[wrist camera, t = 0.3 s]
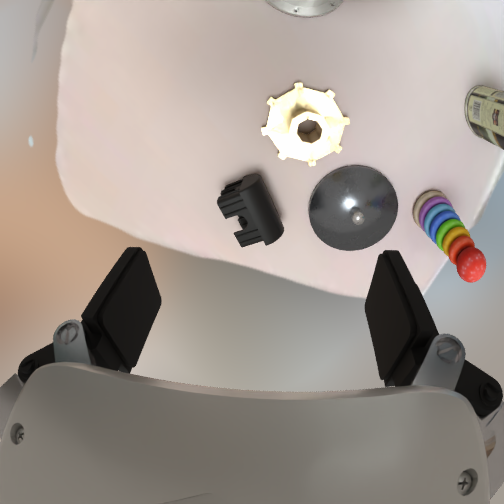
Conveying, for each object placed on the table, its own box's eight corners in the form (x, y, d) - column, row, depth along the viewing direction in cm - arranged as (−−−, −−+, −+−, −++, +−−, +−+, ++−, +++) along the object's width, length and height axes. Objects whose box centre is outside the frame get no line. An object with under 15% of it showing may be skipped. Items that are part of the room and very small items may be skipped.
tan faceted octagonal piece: (272, 76, 33) (271, 75, 28) (354, 97, 34) (366, 101, 29) (256, 151, 41) (253, 164, 36) (333, 169, 41) (340, 185, 36)
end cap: (284, 219, 48) (284, 240, 42) (247, 231, 50) (243, 253, 44) (261, 168, 43) (258, 184, 37) (222, 183, 45) (213, 201, 39)
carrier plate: (323, 153, 40) (327, 160, 37) (408, 181, 40) (417, 190, 37) (298, 236, 49) (298, 248, 46) (375, 254, 50) (380, 266, 47)
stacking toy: (404, 210, 44) (449, 279, 29) (432, 180, 39) (490, 239, 24) (425, 233, 46) (467, 301, 31) (452, 206, 41) (504, 268, 26)
